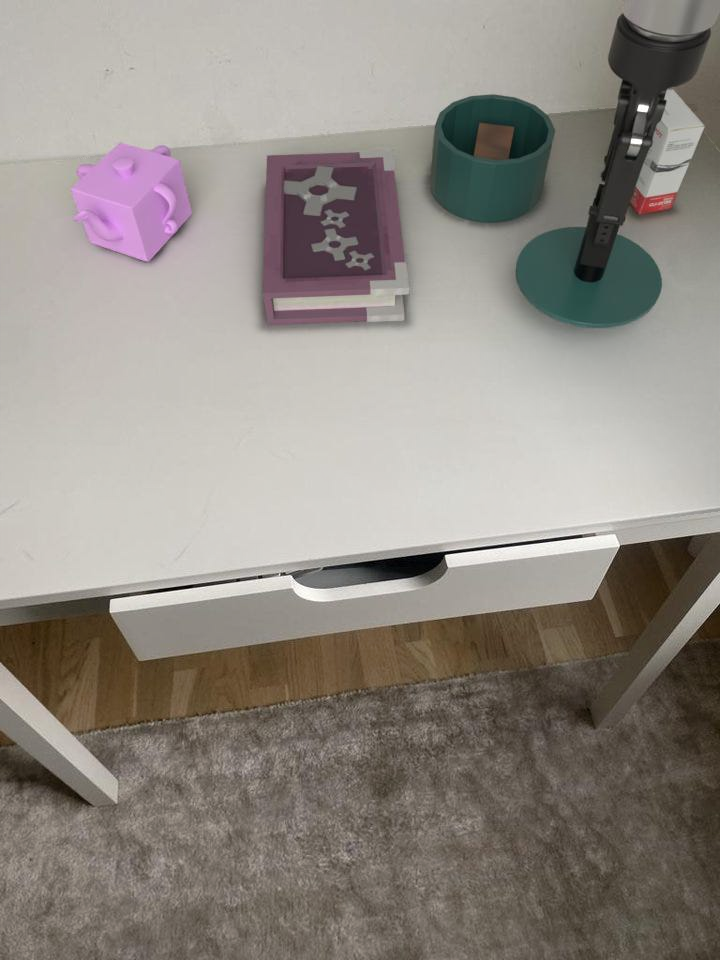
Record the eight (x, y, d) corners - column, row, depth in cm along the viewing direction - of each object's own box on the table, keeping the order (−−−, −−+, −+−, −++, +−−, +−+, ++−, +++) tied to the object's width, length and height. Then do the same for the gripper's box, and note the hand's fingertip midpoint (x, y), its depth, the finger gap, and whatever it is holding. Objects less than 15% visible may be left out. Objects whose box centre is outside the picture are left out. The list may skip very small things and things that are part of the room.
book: (407, 320, 88) (409, 287, 84) (267, 326, 88) (262, 293, 84) (391, 183, 102) (392, 149, 98) (271, 188, 102) (266, 154, 97)
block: (505, 174, 102) (511, 141, 102) (508, 162, 98) (514, 126, 97) (472, 170, 103) (478, 137, 102) (473, 157, 98) (479, 122, 98)
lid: (662, 247, 88) (693, 168, 79) (654, 344, 79) (688, 267, 71) (525, 225, 90) (541, 146, 82) (503, 317, 82) (519, 239, 73)
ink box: (672, 209, 99) (707, 124, 89) (637, 216, 98) (668, 130, 88) (643, 170, 103) (673, 85, 93) (609, 176, 103) (635, 90, 93)
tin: (547, 163, 104) (561, 103, 97) (532, 231, 97) (545, 171, 89) (443, 147, 106) (448, 87, 99) (420, 212, 99) (424, 152, 92)
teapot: (142, 297, 90) (119, 227, 82) (47, 264, 94) (16, 193, 85) (220, 209, 99) (206, 137, 91) (131, 181, 102) (110, 109, 94)
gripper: (626, -31, 67) (568, 200, 86) (610, 65, 58) (549, 297, 78) (714, -21, 66) (635, 210, 85) (712, 77, 57) (624, 310, 76)
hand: (594, 251), depth 81 cm, fingers closed on lid, 3 cm apart
